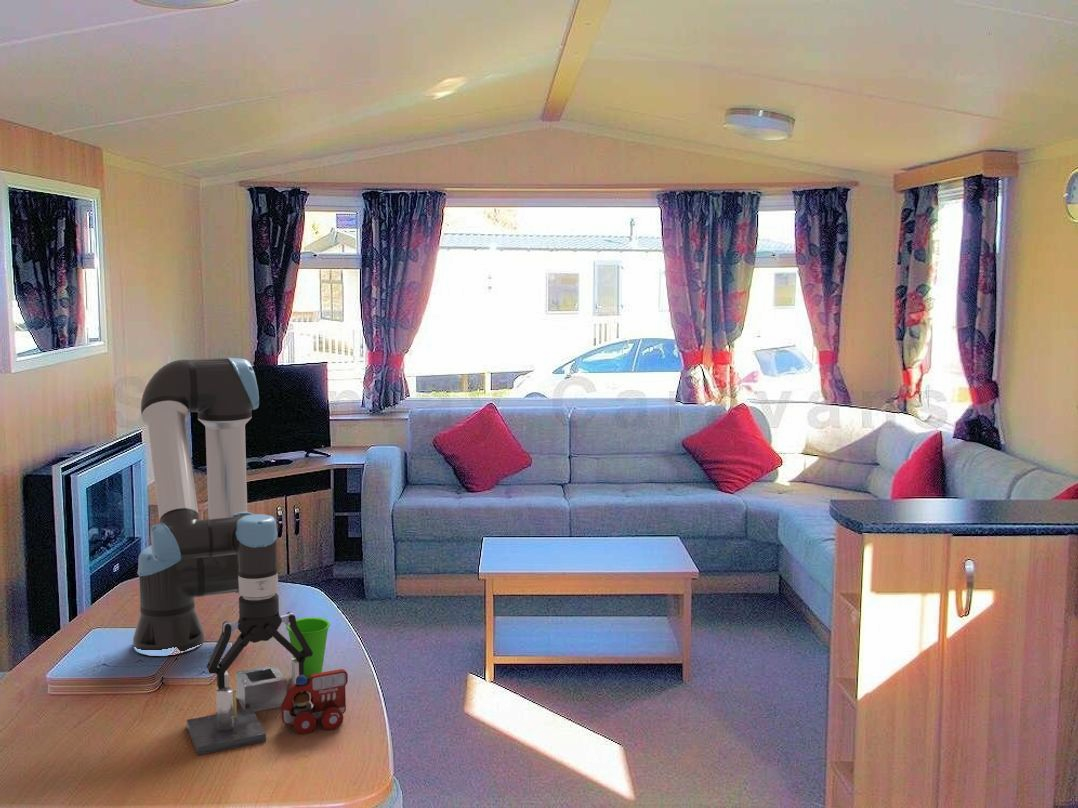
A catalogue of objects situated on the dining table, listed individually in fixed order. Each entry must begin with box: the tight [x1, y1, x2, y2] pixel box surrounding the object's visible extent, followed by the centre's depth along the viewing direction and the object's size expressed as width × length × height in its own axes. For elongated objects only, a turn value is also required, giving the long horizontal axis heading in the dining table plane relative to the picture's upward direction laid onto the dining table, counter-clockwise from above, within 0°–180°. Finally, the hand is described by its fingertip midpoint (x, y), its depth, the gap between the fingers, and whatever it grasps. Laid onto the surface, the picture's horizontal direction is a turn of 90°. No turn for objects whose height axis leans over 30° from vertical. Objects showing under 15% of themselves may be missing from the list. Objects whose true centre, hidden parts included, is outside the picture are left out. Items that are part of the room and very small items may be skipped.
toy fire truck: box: [280, 668, 349, 735], centre depth 193 cm, size 7×12×10 cm, turn 113°
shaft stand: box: [186, 686, 267, 756], centre depth 188 cm, size 12×12×8 cm
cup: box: [285, 616, 331, 680], centre depth 215 cm, size 9×9×11 cm
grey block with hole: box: [235, 664, 287, 713], centre depth 202 cm, size 8×8×6 cm
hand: (261, 697), depth 202 cm, fingers open, 13 cm apart
